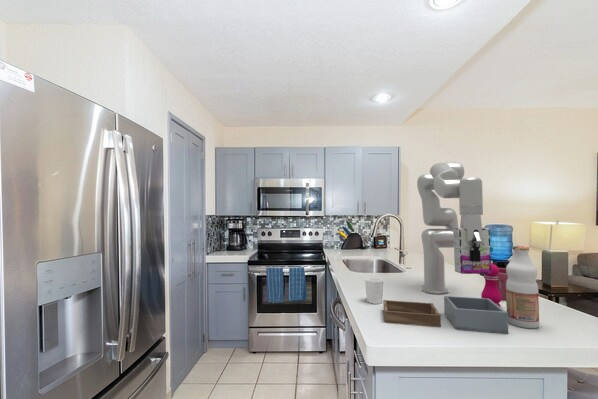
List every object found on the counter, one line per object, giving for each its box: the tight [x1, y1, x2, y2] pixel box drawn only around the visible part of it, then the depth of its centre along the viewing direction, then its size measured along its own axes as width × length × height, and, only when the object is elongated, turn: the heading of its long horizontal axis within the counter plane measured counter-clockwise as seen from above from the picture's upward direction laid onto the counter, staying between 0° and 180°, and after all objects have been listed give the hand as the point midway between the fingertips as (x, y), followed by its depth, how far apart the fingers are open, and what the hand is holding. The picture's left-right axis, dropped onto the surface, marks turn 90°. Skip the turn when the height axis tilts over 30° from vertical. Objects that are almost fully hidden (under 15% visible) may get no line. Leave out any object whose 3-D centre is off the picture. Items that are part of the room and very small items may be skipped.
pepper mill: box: [480, 260, 503, 307], centre depth 124 cm, size 7×7×20 cm
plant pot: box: [497, 267, 508, 301], centre depth 138 cm, size 14×14×13 cm
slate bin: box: [443, 295, 509, 335], centre depth 108 cm, size 16×16×7 cm
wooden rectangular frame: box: [382, 299, 442, 328], centre depth 113 cm, size 14×19×4 cm
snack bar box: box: [453, 227, 492, 275], centre depth 108 cm, size 11×5×16 cm, turn 90°
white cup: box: [364, 277, 384, 305], centre depth 133 cm, size 8×8×10 cm
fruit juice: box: [505, 245, 540, 329], centre depth 107 cm, size 9×9×28 cm
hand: (472, 259), depth 108 cm, fingers closed on snack bar box, 5 cm apart
